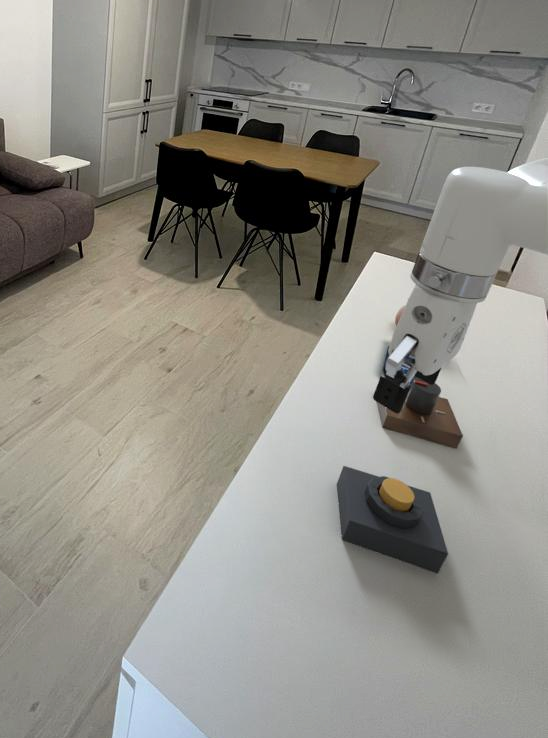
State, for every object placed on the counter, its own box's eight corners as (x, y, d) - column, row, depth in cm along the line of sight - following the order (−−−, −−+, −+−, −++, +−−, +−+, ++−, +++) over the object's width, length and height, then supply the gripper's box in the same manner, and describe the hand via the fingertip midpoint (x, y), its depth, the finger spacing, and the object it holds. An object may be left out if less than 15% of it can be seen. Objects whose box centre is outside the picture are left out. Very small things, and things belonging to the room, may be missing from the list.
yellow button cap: (407, 492, 72) (411, 483, 71) (413, 515, 68) (417, 507, 68) (377, 482, 73) (380, 474, 72) (381, 505, 69) (385, 496, 69)
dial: (428, 402, 94) (438, 380, 92) (434, 418, 90) (444, 395, 88) (403, 395, 95) (411, 373, 93) (407, 410, 91) (416, 388, 89)
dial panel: (442, 410, 96) (447, 398, 95) (457, 448, 88) (463, 435, 86) (374, 392, 100) (379, 380, 99) (382, 427, 91) (387, 414, 90)
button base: (421, 511, 75) (434, 483, 73) (437, 574, 67) (453, 544, 64) (336, 484, 79) (346, 456, 77) (341, 540, 70) (353, 511, 68)
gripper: (457, 311, 50) (403, 438, 56) (515, 271, 59) (462, 384, 66) (382, 279, 55) (341, 398, 62) (446, 247, 65) (404, 354, 72)
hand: (404, 391), depth 64 cm, fingers open, 9 cm apart
